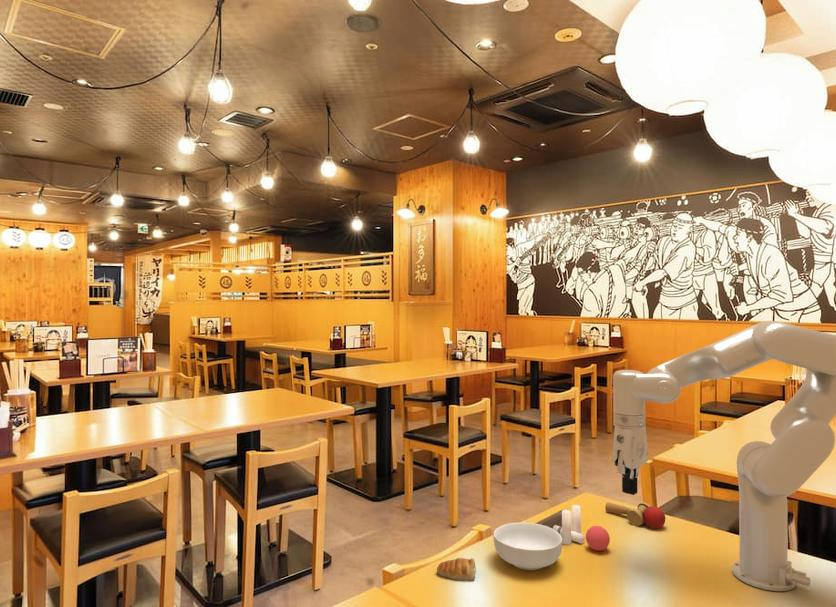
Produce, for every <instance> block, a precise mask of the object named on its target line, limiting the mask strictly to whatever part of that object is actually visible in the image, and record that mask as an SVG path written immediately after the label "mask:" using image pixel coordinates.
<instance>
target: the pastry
mask: <svg viewBox="0 0 836 607" xmlns="http://www.w3.org/2000/svg"><path fill="white" fill-rule="evenodd" d="M436 571H437V573H438V575H439V576H440V577H443V578H447V579H451V580H452V581H453V580H455V581H462V582H463V581H465V582H466V581H468V582H472V581H474V580H475V579H476V572H477V566H476V562H475V559H474V558H464V557H457V558H456V559H455V558H454V559H453V558H452V559H451V560H450V559H449V560H446V561H443V562H440V563H439V564H438V566H437V567H436Z"/></svg>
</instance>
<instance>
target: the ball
mask: <svg viewBox="0 0 836 607" xmlns="http://www.w3.org/2000/svg"><path fill="white" fill-rule="evenodd" d="M610 538H611V537H610V535H609V532H608V531H607V530H606V529H605V528H604V527H603V526H600V525H592V526H590V527H589V528H588V529H587V531H586V533H585V540H586V543H587V545H588V546H589V548H591V549H593V550H595V551H600V552H601V551H604V550H606V549H607V548H608V547H609V545H610V541H611V540H610Z"/></svg>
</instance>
